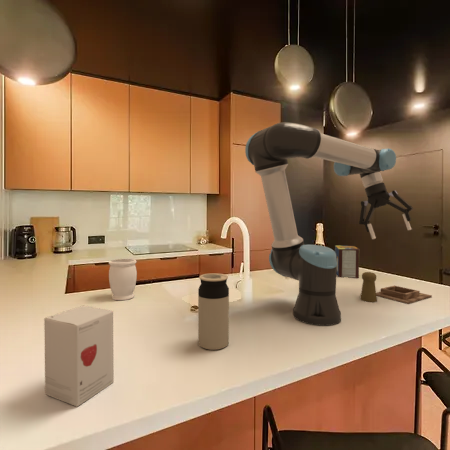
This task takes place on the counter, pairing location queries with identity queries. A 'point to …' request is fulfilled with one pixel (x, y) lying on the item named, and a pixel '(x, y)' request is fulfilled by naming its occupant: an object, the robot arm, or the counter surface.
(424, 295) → the walnut holder
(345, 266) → the protein box
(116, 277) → the jar
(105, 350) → the supplement box
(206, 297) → the travel mug
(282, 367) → the counter surface
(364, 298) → the cork
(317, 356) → the counter surface
